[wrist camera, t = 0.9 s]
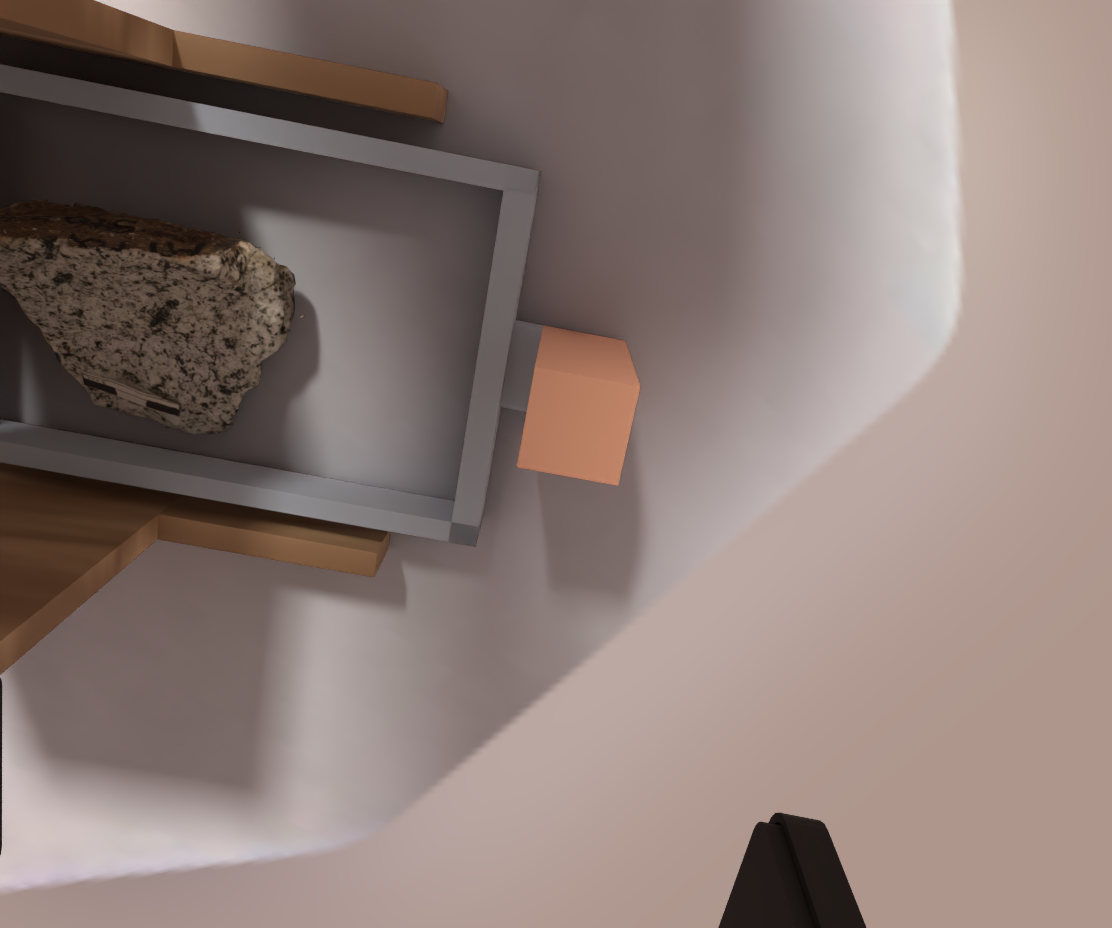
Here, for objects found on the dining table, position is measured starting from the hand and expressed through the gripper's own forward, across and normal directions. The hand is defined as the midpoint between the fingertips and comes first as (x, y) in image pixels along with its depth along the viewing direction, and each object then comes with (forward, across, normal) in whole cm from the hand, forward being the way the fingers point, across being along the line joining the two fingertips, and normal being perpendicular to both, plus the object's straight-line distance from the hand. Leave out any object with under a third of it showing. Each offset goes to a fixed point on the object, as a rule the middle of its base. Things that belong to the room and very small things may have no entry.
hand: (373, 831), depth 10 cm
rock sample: (+22, +12, -1) cm, 25 cm away
